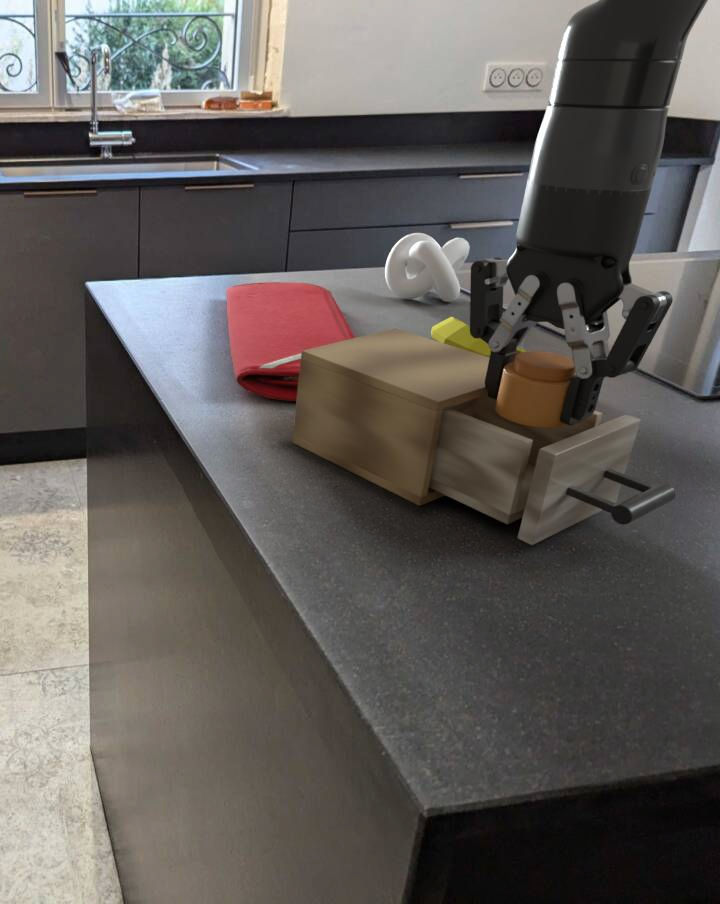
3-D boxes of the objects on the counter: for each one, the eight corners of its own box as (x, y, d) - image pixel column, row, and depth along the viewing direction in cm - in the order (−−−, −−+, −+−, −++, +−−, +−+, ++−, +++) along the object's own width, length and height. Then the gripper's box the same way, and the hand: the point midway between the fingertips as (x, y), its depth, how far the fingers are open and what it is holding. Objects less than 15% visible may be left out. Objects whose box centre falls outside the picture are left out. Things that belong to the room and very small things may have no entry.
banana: (546, 357, 87) (607, 352, 96) (409, 310, 99) (474, 309, 108) (530, 398, 89) (591, 389, 98) (397, 347, 101) (463, 343, 110)
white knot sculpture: (419, 283, 133) (428, 226, 129) (485, 299, 124) (497, 239, 120) (372, 293, 127) (380, 234, 124) (438, 310, 118) (449, 248, 115)
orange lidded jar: (521, 396, 66) (533, 344, 65) (586, 418, 62) (601, 363, 61) (480, 410, 64) (491, 356, 62) (545, 434, 60) (559, 377, 58)
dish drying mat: (331, 302, 122) (334, 277, 120) (384, 408, 85) (389, 374, 84) (224, 299, 123) (226, 275, 122) (231, 402, 87) (233, 368, 85)
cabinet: (512, 468, 73) (535, 371, 69) (419, 506, 66) (438, 401, 63) (382, 414, 84) (395, 328, 80) (291, 442, 77) (301, 350, 74)
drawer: (679, 529, 62) (709, 441, 58) (595, 576, 56) (624, 481, 53) (468, 443, 75) (483, 368, 72) (384, 474, 70) (397, 394, 66)
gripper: (732, 186, 52) (656, 430, 59) (524, 164, 63) (481, 372, 70) (673, 195, 48) (599, 454, 56) (462, 170, 59) (424, 390, 66)
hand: (533, 408), depth 63 cm, fingers closed on orange lidded jar, 5 cm apart
